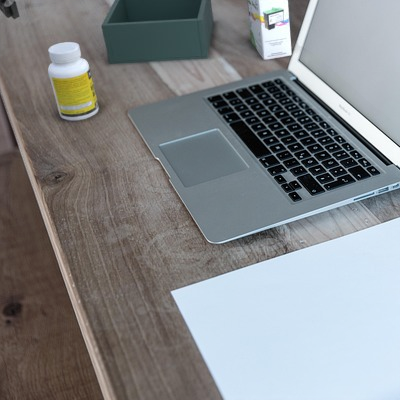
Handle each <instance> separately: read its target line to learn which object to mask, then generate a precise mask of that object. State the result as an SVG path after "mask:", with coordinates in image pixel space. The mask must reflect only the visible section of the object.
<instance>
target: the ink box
mask: <svg viewBox="0 0 400 400" xmlns="http://www.w3.org/2000/svg"><path fill="white" fill-rule="evenodd" d="M246 3H247V14H248V25H249V36H250V42H251V44H252V45H253V47H254V48H255V49H256V51H257V52H258V54H259V55H260V57H261V58H262V59H263V60H272V59H278V58H284V57H289V56H292V54H293V52H292V40H291V38H292V37H291V28H290V27H291V26H290V12H289V0H246Z"/></svg>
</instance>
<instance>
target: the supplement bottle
mask: <svg viewBox="0 0 400 400" xmlns="http://www.w3.org/2000/svg"><path fill="white" fill-rule="evenodd" d="M47 50H48V56H49V59H50V61H51V63H50V64H49V65H48V68H47V72H48V78H49V80H50V83H51V88H52V92H53V95H54V96H53V97H54V99H55V103H56V107H57V110H58V115H59V116H60V117H61V118H62V119H63V120H65V121H71V122H76V121H82V120H83V121H84V120H87V119H89V118H91V117H93V116H95V115H96V114H97V113H98V112H99V103H98V102H99V101H98V99H97V94H96V90H95V86H94V81H93V77H92V72H91V68H90V65H89V62H88V61H87V60H86V59H85V58H83V57H82V52H81V48H80V45H79V43H77V42H73V41H64V42H59V43H55V44H53V45H51V46H50V47H49V48H48V49H47Z"/></svg>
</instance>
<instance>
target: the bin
mask: <svg viewBox="0 0 400 400" xmlns="http://www.w3.org/2000/svg"><path fill="white" fill-rule="evenodd" d="M214 24H215V22H214V14H213V6H212V0H114V1H113V3H112V5H111V6H110V8H109V10H108V12H107V14H106V16H105V18H104V19H103V22H101V32H102V35H103V40H104V46H105V49H106V53H107V58H108V62H109V65H119V64H121V65H122V64H137V63H152V62H153V63H155V62H172V61H186V60H187V61H189V60H206V59H208V57H209V51H210V46H211V40H212V36H213V31H214Z"/></svg>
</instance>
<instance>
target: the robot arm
mask: <svg viewBox="0 0 400 400" xmlns="http://www.w3.org/2000/svg"><path fill="white" fill-rule="evenodd" d="M0 11H1V12H2V14H3V15H4V16H5V17H6V18H8V19H9V18H12V19H13V20H16V19H18V18H19V17H20V12H19V9H18V5H17V2H16V1H15V0H0Z"/></svg>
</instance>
